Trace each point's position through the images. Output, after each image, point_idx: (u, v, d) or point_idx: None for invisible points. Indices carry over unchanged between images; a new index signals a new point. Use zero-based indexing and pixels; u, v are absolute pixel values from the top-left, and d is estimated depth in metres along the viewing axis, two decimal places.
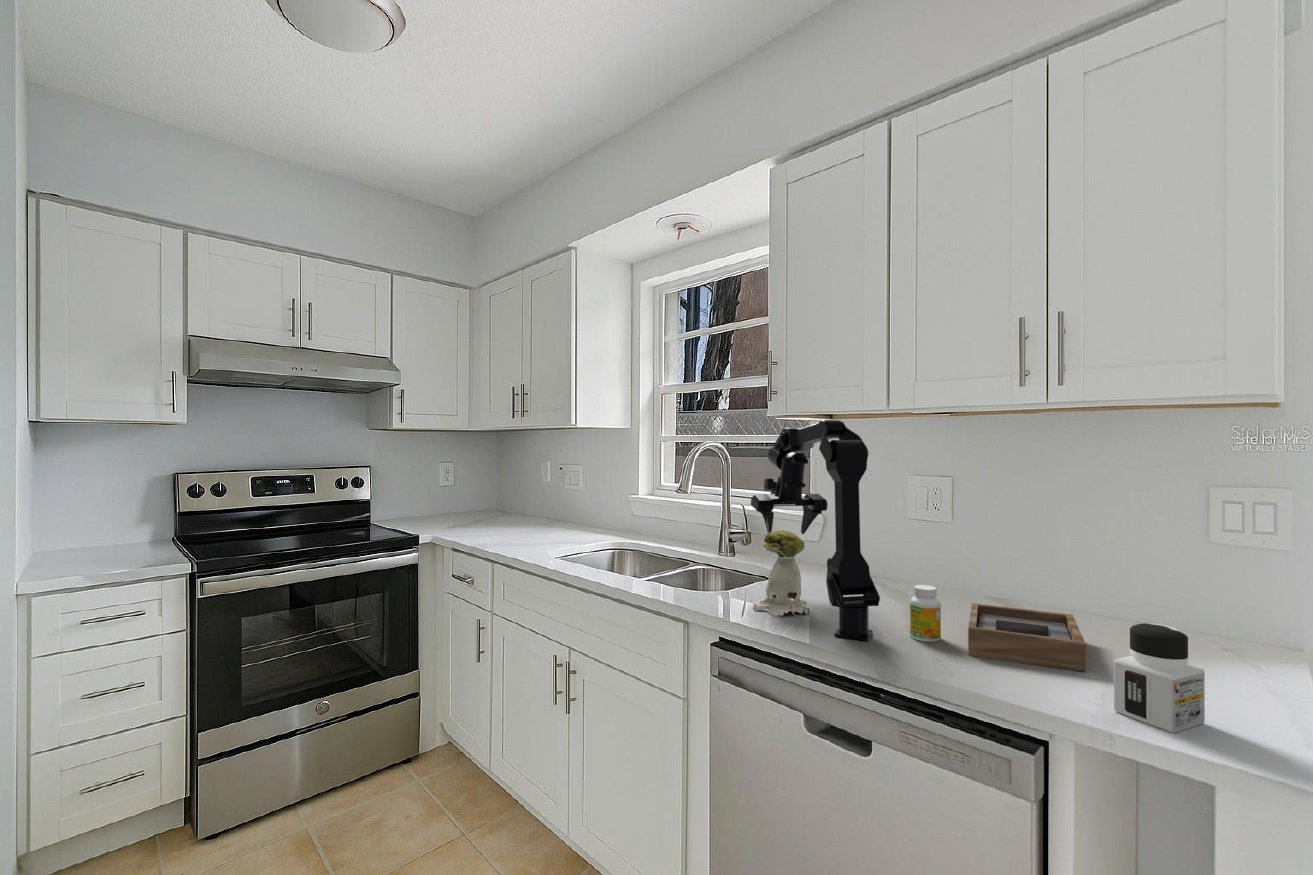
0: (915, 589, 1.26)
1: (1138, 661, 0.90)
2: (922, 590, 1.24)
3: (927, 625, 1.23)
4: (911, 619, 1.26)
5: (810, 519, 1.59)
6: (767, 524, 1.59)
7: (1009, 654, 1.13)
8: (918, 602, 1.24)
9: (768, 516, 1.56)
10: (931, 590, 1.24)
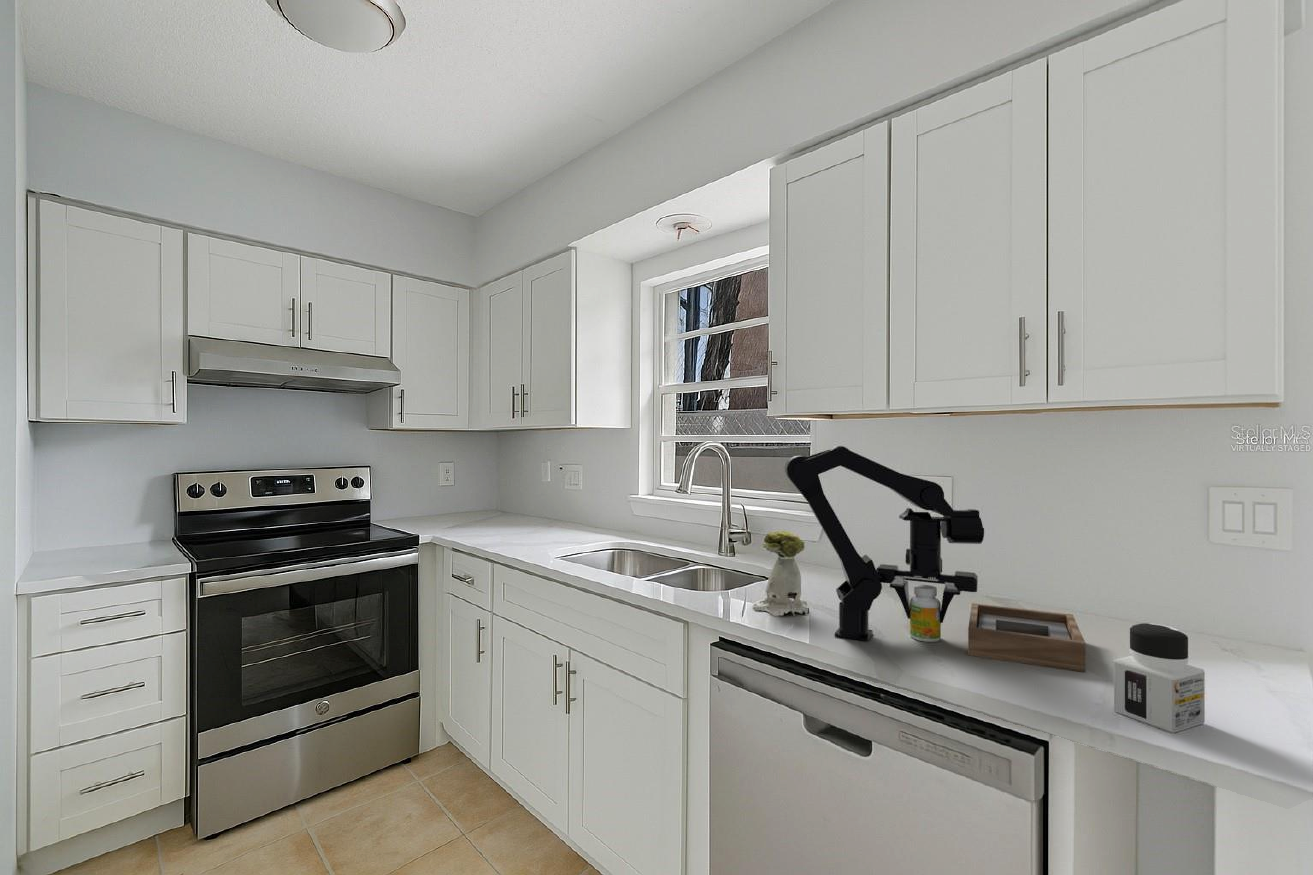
0: (915, 589, 1.26)
1: (1138, 661, 0.90)
2: (922, 590, 1.24)
3: (927, 625, 1.23)
4: (911, 619, 1.26)
5: (944, 601, 1.22)
6: None
7: (1009, 654, 1.13)
8: (918, 602, 1.24)
9: (897, 590, 1.26)
10: (931, 590, 1.24)
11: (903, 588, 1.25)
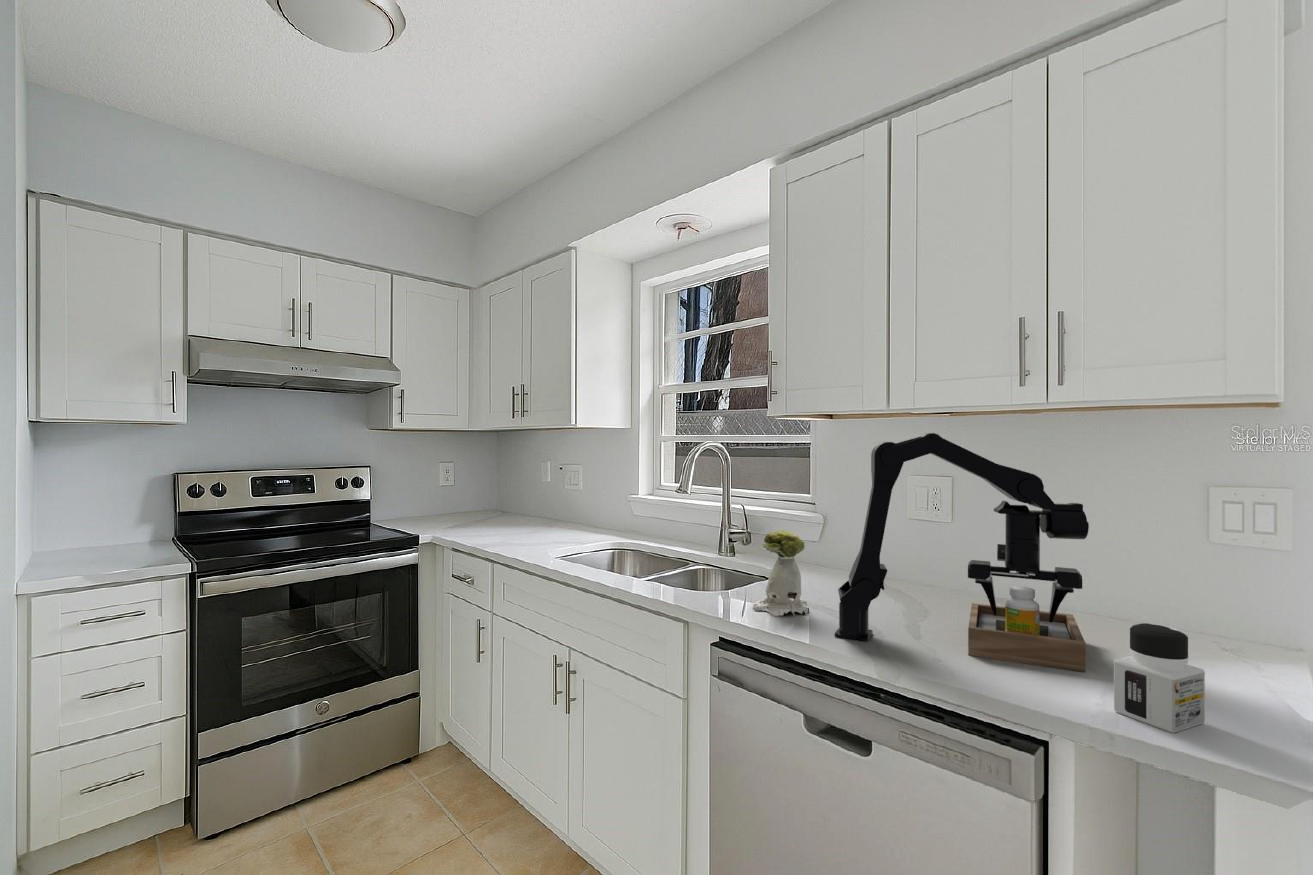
0: (1012, 591, 1.20)
1: (1138, 661, 0.90)
2: (1020, 592, 1.19)
3: (1026, 628, 1.18)
4: (1007, 622, 1.20)
5: (1055, 599, 1.16)
6: None
7: (1009, 654, 1.13)
8: (1015, 604, 1.19)
9: (984, 586, 1.21)
10: (1030, 592, 1.19)
11: (990, 584, 1.20)
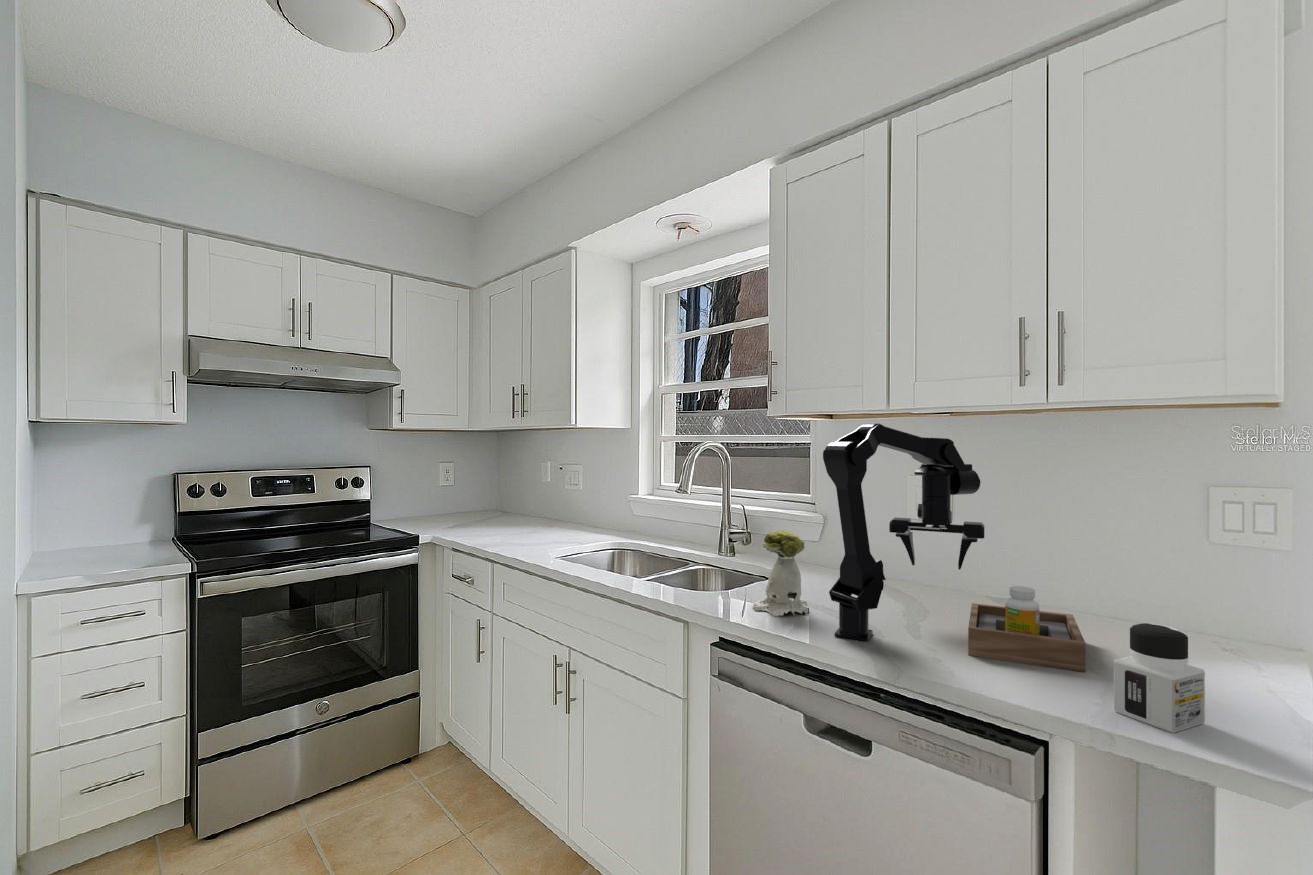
0: (1012, 591, 1.20)
1: (1138, 661, 0.90)
2: (1020, 592, 1.19)
3: (1026, 628, 1.18)
4: (1007, 622, 1.20)
5: (962, 549, 1.32)
6: None
7: (1009, 654, 1.13)
8: (1015, 604, 1.19)
9: (903, 539, 1.38)
10: (1030, 592, 1.19)
11: (908, 536, 1.37)
